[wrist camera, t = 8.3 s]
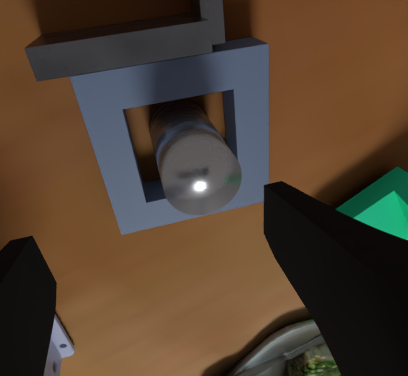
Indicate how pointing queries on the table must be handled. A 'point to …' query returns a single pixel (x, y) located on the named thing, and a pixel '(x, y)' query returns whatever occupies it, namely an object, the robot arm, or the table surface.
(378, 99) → the table surface
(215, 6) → the mount bracket
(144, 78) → the socket
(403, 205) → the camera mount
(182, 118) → the grey metal cylinder
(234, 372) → the salad plate
